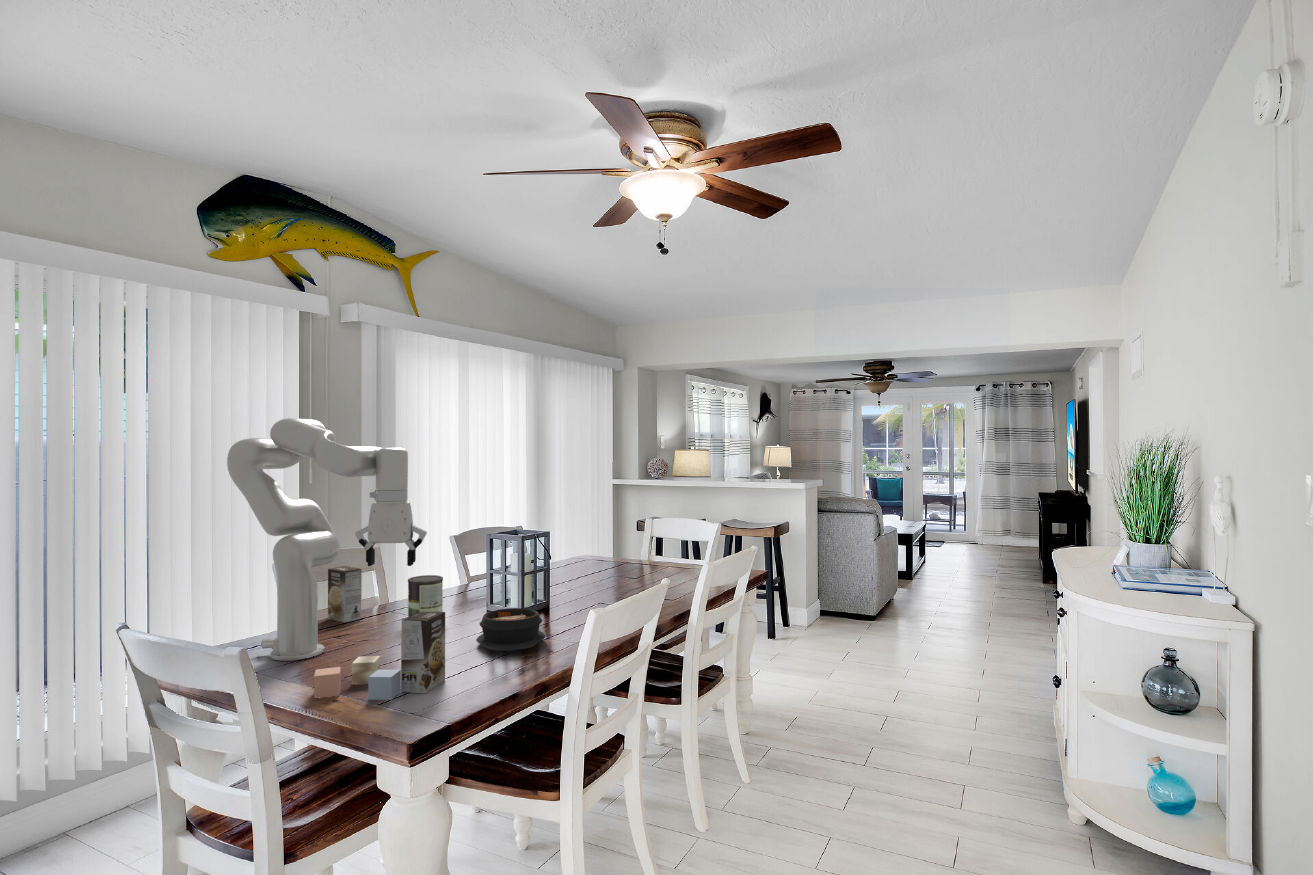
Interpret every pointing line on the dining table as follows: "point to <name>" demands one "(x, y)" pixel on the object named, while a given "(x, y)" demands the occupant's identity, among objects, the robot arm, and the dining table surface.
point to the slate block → (384, 684)
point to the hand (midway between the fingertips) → (390, 565)
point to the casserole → (510, 629)
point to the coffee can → (425, 594)
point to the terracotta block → (327, 682)
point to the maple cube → (364, 668)
